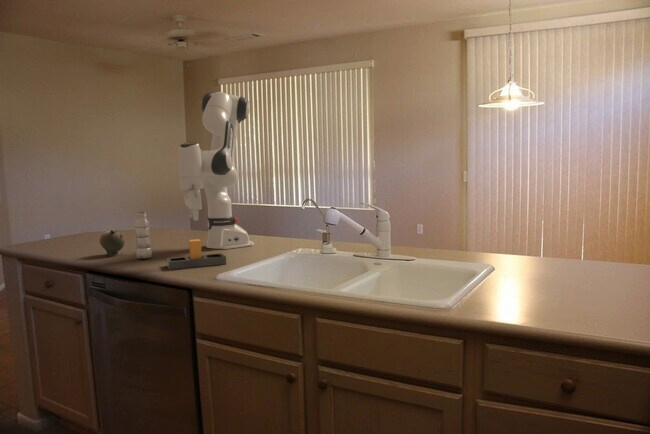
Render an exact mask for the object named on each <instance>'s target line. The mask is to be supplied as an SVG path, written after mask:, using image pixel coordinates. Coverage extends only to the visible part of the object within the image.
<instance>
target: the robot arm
mask: <svg viewBox="0 0 650 434" xmlns="http://www.w3.org/2000/svg"><path fill="white" fill-rule="evenodd" d="M200 106H201V107H200V108H201V111H202V112H203V113H202V117H201V119H202V120H201V121H202V125H203V127H204V128H205V129H206V130H207V131H208V132H209V133H211V134H212V139H211V145H210V150H203V149H202V148H200V144H199V142H196V141H191V142H190V141H189V142H188V141H187V142H184V143H181V144H180V145H179V146H178V152H177V153H178V155H177V158H178V159H177V162H178V168H179V177H178V178H179V186H180V187H179V190H182V196H183V201H184V205H185V206H186V207H187V208H188V215H189V218H191V219H192V220H193V221H195V222H196V221H197V222H198V221H199V213H200V210H202V207H203V206H202V195H201V189H203V190H204V193H205V197H206V201H207V216H208V217H207V222H206V223H207V229H208V232H207V242H206V246H205V247H206V248H208V249H219V250H230V249H237V248H244V247H252V246H254V245H255V243H254V241H252V240H250V237H249V234H248V232H247V230H245V229H244V228H243V227H241V226H240V225H238V222H240V221H239V218H238V217H234V216H233V214H232V213H233V211H232V207H233V206H232V199H231V198H230V196H229V194H228V193H229V192H228V191H227V189H228V188H231V187H234V186H235V185H236V184H237V183H238V180H239V173H238V171H237V169H236V161H235V150H236V144H237V138H238V129H239V128H238V124H241V122H243V121H245V120H246V119H247V118H248V116H249V114H250V110H251V105H250V102H249V99H248V98H246V97H244V96H239V95H235V94H229V93H226V92H224V91H216V92H207V93H206V92H205V94H203V95H202V98H201V101H200Z"/></svg>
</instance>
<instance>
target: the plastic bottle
mask: <svg viewBox="0 0 650 434" xmlns="http://www.w3.org/2000/svg"><path fill="white" fill-rule="evenodd" d="M136 217H137V219H136V220H135V222H134V225H133V226H134V230H135V236H136V250H135V254H136V257H137V259H140V260H146V259H149V258H150V259H151V257H152V256H153V251H152V247H151V240H150V235H151V234H150V231H151V223H150V221H149V220H148V218H147V212H146V211H137V212H136Z"/></svg>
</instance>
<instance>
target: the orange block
mask: <svg viewBox="0 0 650 434" xmlns="http://www.w3.org/2000/svg"><path fill="white" fill-rule="evenodd" d="M188 246H189V247H188V248H189V249H188V250H189V256H190V259H201V258H202V255H203V254H202V253H203V252H202V240H201V239H199V238H196V239H189V240H188Z"/></svg>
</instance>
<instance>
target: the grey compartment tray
mask: <svg viewBox="0 0 650 434" xmlns="http://www.w3.org/2000/svg"><path fill="white" fill-rule="evenodd" d="M165 259H166V260H165V262H166V268H167V269H168V270H169V271H171V270H172V271H173V270H181V269H192V268H193V269H194V268H202V267H213V266H223V264H224V265H227V256H225V254H223V253H211V254H202V258H201V259H190V255H186V256H179V257H178V256H177V257H166V258H165Z"/></svg>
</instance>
